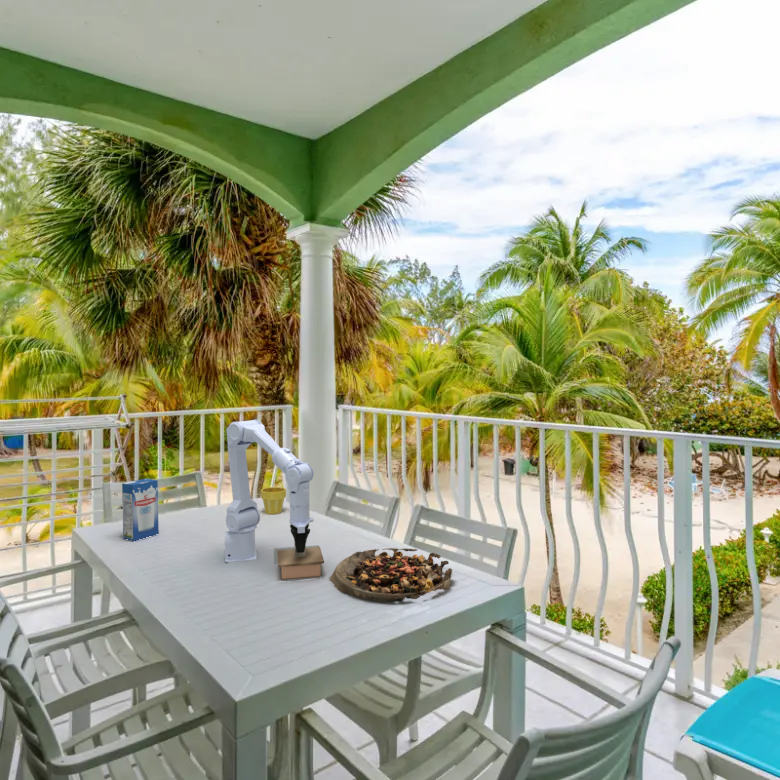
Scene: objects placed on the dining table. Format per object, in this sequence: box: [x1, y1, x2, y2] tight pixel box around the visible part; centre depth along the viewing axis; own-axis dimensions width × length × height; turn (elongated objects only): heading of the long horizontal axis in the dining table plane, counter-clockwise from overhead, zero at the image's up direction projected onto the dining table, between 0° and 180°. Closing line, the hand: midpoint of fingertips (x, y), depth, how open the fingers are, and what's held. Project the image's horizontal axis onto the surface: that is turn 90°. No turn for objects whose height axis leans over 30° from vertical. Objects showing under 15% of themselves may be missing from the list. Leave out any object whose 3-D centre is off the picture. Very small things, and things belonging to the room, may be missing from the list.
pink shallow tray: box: [280, 563, 322, 582], centre depth 165 cm, size 11×11×4 cm
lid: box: [277, 540, 325, 568], centre depth 165 cm, size 13×13×5 cm
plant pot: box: [260, 486, 287, 515], centre depth 233 cm, size 10×10×10 cm
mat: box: [273, 544, 320, 565], centre depth 179 cm, size 15×15×1 cm
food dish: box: [328, 547, 453, 602], centre depth 159 cm, size 35×33×8 cm
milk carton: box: [121, 478, 160, 542], centre depth 200 cm, size 10×6×20 cm, turn 148°
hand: (300, 550), depth 165 cm, fingers closed on lid, 3 cm apart
